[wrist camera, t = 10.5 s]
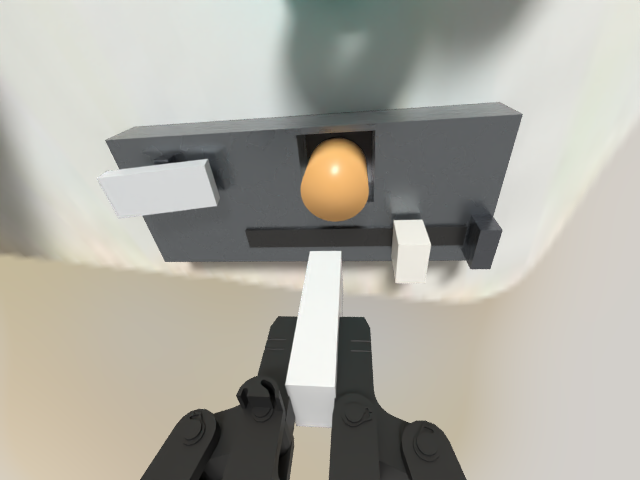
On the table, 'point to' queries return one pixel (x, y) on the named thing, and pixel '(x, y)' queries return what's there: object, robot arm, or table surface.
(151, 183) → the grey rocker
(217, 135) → the console panel
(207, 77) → the table surface
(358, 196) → the orange button
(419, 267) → the slider knob
